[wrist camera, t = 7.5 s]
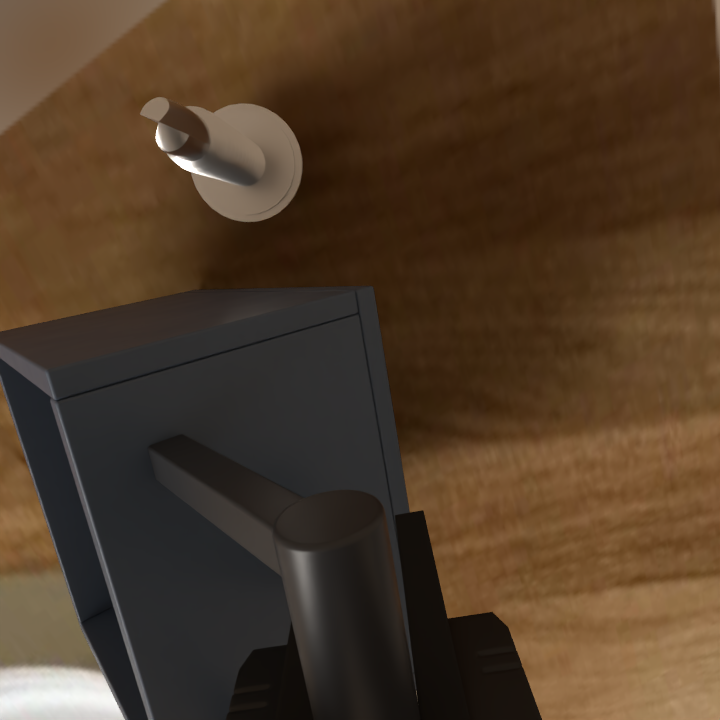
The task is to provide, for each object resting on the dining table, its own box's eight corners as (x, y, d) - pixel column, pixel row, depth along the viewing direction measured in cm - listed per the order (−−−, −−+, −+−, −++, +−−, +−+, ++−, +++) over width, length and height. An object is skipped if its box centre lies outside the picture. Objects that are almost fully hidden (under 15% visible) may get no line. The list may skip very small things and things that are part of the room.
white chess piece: (285, 237, 27) (189, 198, 27) (322, 137, 26) (222, 95, 26) (220, 251, 15) (37, 178, 14) (285, 61, 14) (90, -23, 13)
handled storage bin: (631, 278, 11) (176, 449, 6) (661, 837, 14) (387, 1262, 9) (196, 289, 28) (-16, 334, 23) (255, 541, 31) (81, 629, 26)
